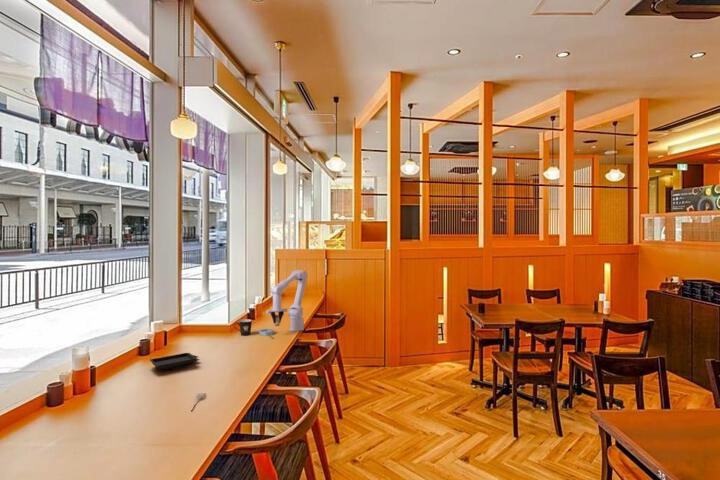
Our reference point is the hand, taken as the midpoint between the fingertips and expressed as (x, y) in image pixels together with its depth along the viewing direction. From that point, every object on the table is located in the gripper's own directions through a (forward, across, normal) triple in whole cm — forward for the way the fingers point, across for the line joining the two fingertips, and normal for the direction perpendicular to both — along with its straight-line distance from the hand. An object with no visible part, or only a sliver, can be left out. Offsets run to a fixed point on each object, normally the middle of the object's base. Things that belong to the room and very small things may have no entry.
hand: (277, 322), depth 292 cm
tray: (+9, +69, +36) cm, 78 cm away
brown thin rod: (+9, +5, +3) cm, 11 cm away
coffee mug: (+9, +20, -13) cm, 26 cm away
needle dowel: (+2, 0, 0) cm, 2 cm away
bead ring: (+9, +5, -8) cm, 13 cm away
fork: (+10, +67, +92) cm, 114 cm away
